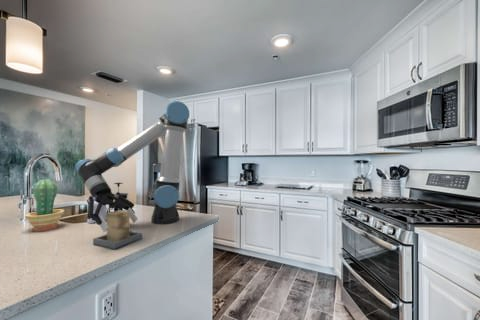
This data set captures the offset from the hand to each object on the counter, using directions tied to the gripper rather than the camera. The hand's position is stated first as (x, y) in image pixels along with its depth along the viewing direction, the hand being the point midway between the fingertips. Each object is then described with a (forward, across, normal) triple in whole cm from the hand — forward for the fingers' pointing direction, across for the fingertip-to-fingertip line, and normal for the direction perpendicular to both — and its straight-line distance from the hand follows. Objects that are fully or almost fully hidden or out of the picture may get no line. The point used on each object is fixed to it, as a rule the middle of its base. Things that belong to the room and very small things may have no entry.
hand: (121, 225), depth 93 cm
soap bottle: (-25, -17, -36) cm, 47 cm away
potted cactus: (-34, +2, -44) cm, 55 cm away
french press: (-10, -15, -21) cm, 27 cm away
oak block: (+3, 0, -6) cm, 7 cm away
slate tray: (+4, 0, -7) cm, 8 cm away
